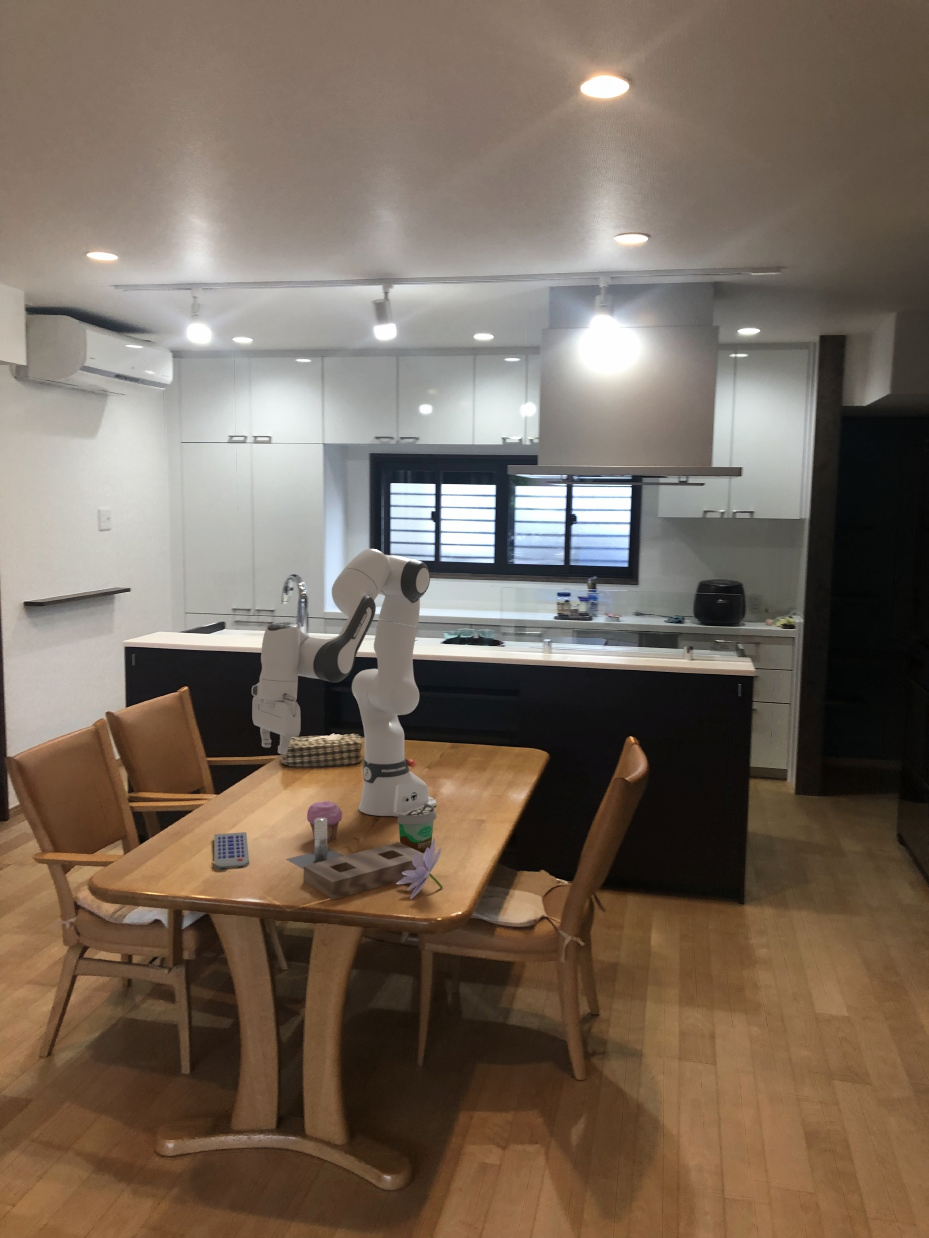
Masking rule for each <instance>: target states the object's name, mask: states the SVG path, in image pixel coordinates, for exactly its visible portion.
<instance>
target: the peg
mask: <svg viewBox="0 0 929 1238" xmlns="http://www.w3.org/2000/svg"><path fill="white" fill-rule="evenodd" d="M314 837H315V839H314V852H315V862H317V863H318V862H322V861H326V860H327V849H328V842H327V819H326V818H316V819H315V820H314V836H313V838H314Z"/></svg>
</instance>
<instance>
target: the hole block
mask: <svg viewBox="0 0 929 1238" xmlns="http://www.w3.org/2000/svg"><path fill="white" fill-rule="evenodd" d="M415 854H419V855H421V856H422V858H423V857H424V853H421V852H419V851H417V850H415V849H412V848H410V847H408V846H406V845H403V844H401V843H400V841H398V842H393V843H388V844H386V845H385V844H384V845H381V846H377V847H373V848H370V849H365V850H362V851H357V852H354V853H350V854H347V855H346V854H345V855H343V856H341V857H337V858H334V859H330V860H326V861H322V862H318V863H314V864H310V865H306V866H304V869H303V883H305V884H307V885H308V886H311V887H312V888H313V889H315V890H317V891H318V892H320V893H322V894H324V895H325V896H327V897H328V899H330V900H331V901H334V900H337V899H342V898H345V897H348V896H353V895H355V894H359V893H363V892H365V891H370V890H373V889H377V888H380V887H383V886H386V885H390V884H393V883H397V882H398V881H400V880H401V879H403V877H407V875H404V874H402V872H404V871H407V870H416V869H417V868H416V867H415V866H414V865H413V863H412V857H413V856H414V855H415ZM415 868H416V869H415Z"/></svg>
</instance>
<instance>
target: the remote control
mask: <svg viewBox="0 0 929 1238" xmlns="http://www.w3.org/2000/svg"><path fill="white" fill-rule="evenodd" d="M247 834H248V833H247V832H246V831H245V832H244V831H241V832H229V833H227V832H226V833H218V834H217V833H214V837H213V839H214V845H213V846H214V848H213V849H214V852H213V854H214V856H213V859H214V860H213V861H214V864H213V865H214V869H215V870H216V869H217V870H216V871H219V870H220V872H222V871H223V870H224V871H228V870H229V869H238V867H239V868H240V867H243V868H245V867H248V866H249V865H250V856H249V855H250V854H249V845H248V844H249V843H248V837H247Z"/></svg>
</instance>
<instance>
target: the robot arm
mask: <svg viewBox="0 0 929 1238" xmlns="http://www.w3.org/2000/svg"><path fill="white" fill-rule="evenodd" d="M430 582H431V574H430V570H429V568H428V566H427V564H426V563H425V562H424V561H421V560H418V559H415V558H408V557H405V556H400V555H395V554H393V555H391V554H390V555H389V554H384V553H383V551H380V550H378V549H375V548H367V549H364V550H363V551H361V552H360V553H358V554H357V555H355V557H353V558H352V560H351V561H350V562H349V563H347V565H346V566H345V567H344V568H343V569H342V570H341V572H340V574H338V576H337V577H336V579H335V580H334V582H333V584H332V586H331V597H332V600H333V603H334V604H335V606H336V607H337V609H338V610H339V611H340V612H341V613H342V614H343V615H345V616H347V617H348V618H347V619H346V621H345V623H344V625H343V626H342V628H341V631H340V632H339V634H338V635H337V636H335V637H332V638H320V637H319V638H317V637H311V636H310V635H308V634H306V633H304V632H303V631H302V630H301V629H300V628H299V625H298V624H297V623H294V622H290V621H289V622H285V621H284V622H275V623H272V624H269V625H267V627H266V629H265V631H264V633H263V636H262V642H261V652H260V653H261V655H260V663H261V671H260V675H259V682H257V684H255V685H252V687H251V695H252V696H253V698H252V707H251V708H252V709H251V711H252V712H251V713H252V717H251V718H252V722H253V725H254V726H257V727H259V728H260V729H259V731H260V737H261V746H262V747H263V748H271V747H272V739H271V736H270V735H271V732H272V733H275V734H277V735H279V739H280V742H279V745H277V753H278V754H280V755H287V754H288V750H289V749H288V748H289V745H290V742H291V740H292V738H297V737H299V736H300V733H301V725H302V724H301V721H302V720H301V707H300V705H299V704H298V702H297V697H298V686H299V685H298V683H299V681H298V680H299V677H305V678H310V679H318V680H322V681H327V682H330V683H334V684H335V683H340V682H342V681H343V680H345V678H347V677H348V676H349V675H350V673H351V672H352V670H353V667H354V664H355V661H356V657H357V654H358V651H359V650H360V647H361V646H362V644H363V641H364V639H365V637H366V635H367V633H368V631H369V630H370V627H371V625H372V623H373V621H374V619H375V615H376V609H377V605H376V602H375V600H376V599H377V597H378V595H382V596H384V598H383V601H382V603H381V604H382V605H381V608H380V610H379V611H380V612H379V614H378V620H377V621H378V622H377V625H376V632H375V635H374V640H373V651H374V652H375V655H376V660H377V661H376V662H377V668H370V669H364V670H361V671H359V672H358V673H357V674H356V675H355V676H354V678H353V679H352V682H351V692H352V695H353V696H354V698H355V699H356V702H357V705H358V708H359V713H360V717H361V718H360V719H361V721H362V725H363V734H364V759H363V760H362V761H363V762H362V767H363V768H362V774H363V775H362V776H363V777H362V778H363V785H362V793H361V800H360V802H359V806H358V810H359V812H360V813H363V814H366V815H370V816H378V817H397V818H398V815H407V814H408V813H410V812H411V811H413V810H418V809H421V808H423V807H424V804H425V803H426V804H430V805H432V806H433V807H436V806H437V804H438V803H437V800H436V799H435V798H433V797H432V796H430V795H429V794H430V793H429V789H428V785H427V784H426V782H425V781H424V780H422V779H421V778H420V777H418V775H415V773H413V772H411V771H410V768H409V767H411V768H412V769H413V768H416V766H417V761H416V760H413V759H411V758H410V759H407V758H405V732H404V728H403V727H402V725H401V723H400V720H399V717H398V716H401V715H402V716H404V715H408V714H410V713H412V712H413V711H414V710H415V709H416V708H417V706H418V704H419V701H420V691H419V688H418V686H417V684H416V680H415V676H414V663H413V662H414V661H413V657H414V648H415V643H416V637H417V632H418V631H417V630H418V626H419V620H420V613H421V612H420V610H421V609H420V607H421V598H422V597H423V596H424V595H425V593H426V592H427V590H428V588H429V587H430V584H431V583H430Z"/></svg>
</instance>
